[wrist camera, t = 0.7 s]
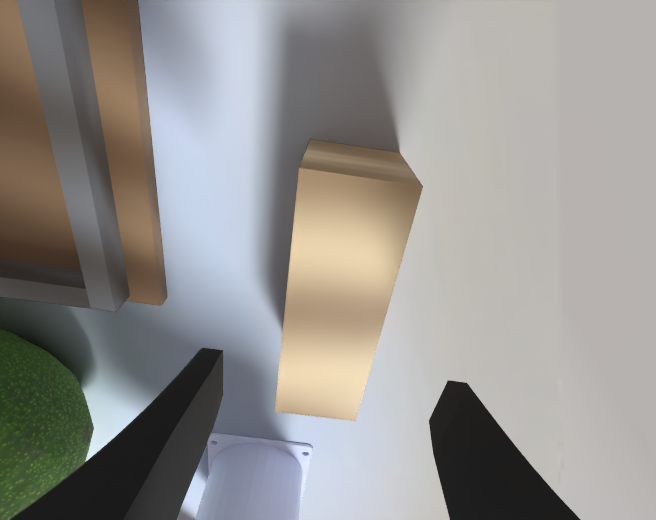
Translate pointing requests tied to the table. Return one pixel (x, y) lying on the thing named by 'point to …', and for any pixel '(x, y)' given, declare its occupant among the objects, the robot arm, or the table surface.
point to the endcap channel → (76, 157)
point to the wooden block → (341, 273)
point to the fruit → (37, 423)
